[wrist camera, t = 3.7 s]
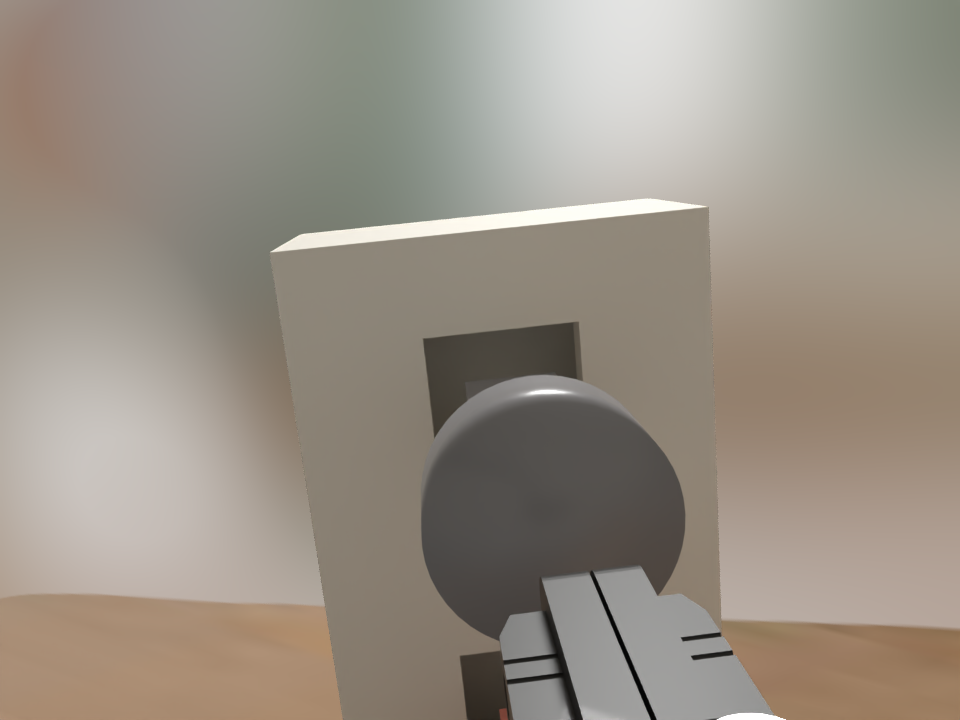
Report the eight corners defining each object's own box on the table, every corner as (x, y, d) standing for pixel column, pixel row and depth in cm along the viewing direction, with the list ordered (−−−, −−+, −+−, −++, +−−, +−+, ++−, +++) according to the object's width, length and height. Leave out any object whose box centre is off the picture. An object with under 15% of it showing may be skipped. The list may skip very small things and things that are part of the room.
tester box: (728, 864, 28) (708, 206, 23) (373, 915, 27) (269, 252, 22) (675, 743, 34) (648, 198, 28) (381, 783, 33) (300, 234, 28)
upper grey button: (690, 632, 16) (680, 388, 15) (437, 664, 16) (406, 419, 15) (610, 495, 23) (599, 318, 22) (431, 516, 23) (410, 339, 21)
